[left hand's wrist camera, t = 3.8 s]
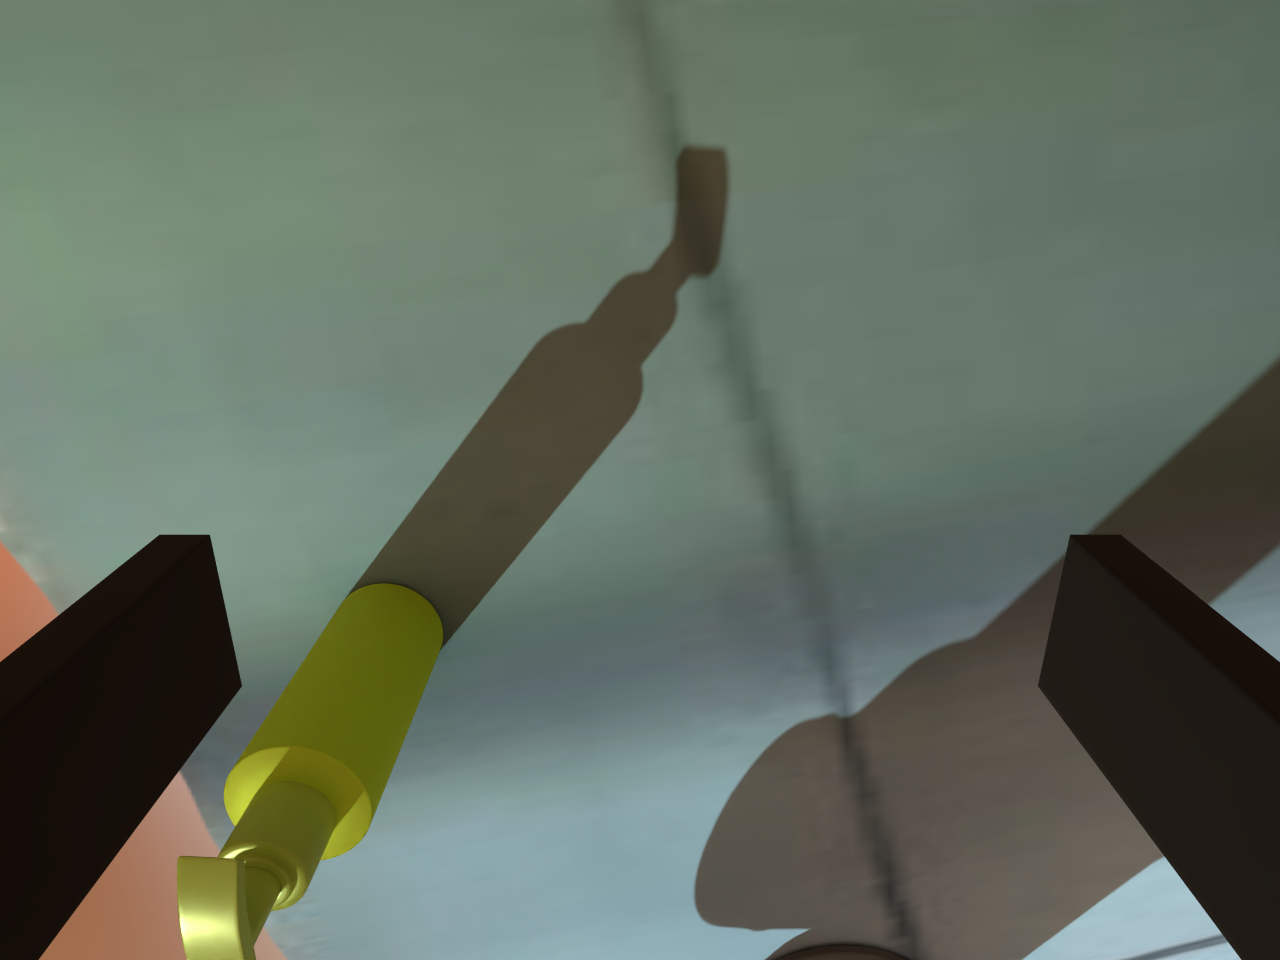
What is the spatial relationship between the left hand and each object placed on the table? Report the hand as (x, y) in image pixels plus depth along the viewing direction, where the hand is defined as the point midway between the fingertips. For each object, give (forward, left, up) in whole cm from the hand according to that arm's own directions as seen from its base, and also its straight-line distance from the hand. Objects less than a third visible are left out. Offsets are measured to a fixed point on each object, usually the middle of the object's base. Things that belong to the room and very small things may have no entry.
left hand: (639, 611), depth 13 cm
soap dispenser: (-17, +14, -28) cm, 36 cm away
